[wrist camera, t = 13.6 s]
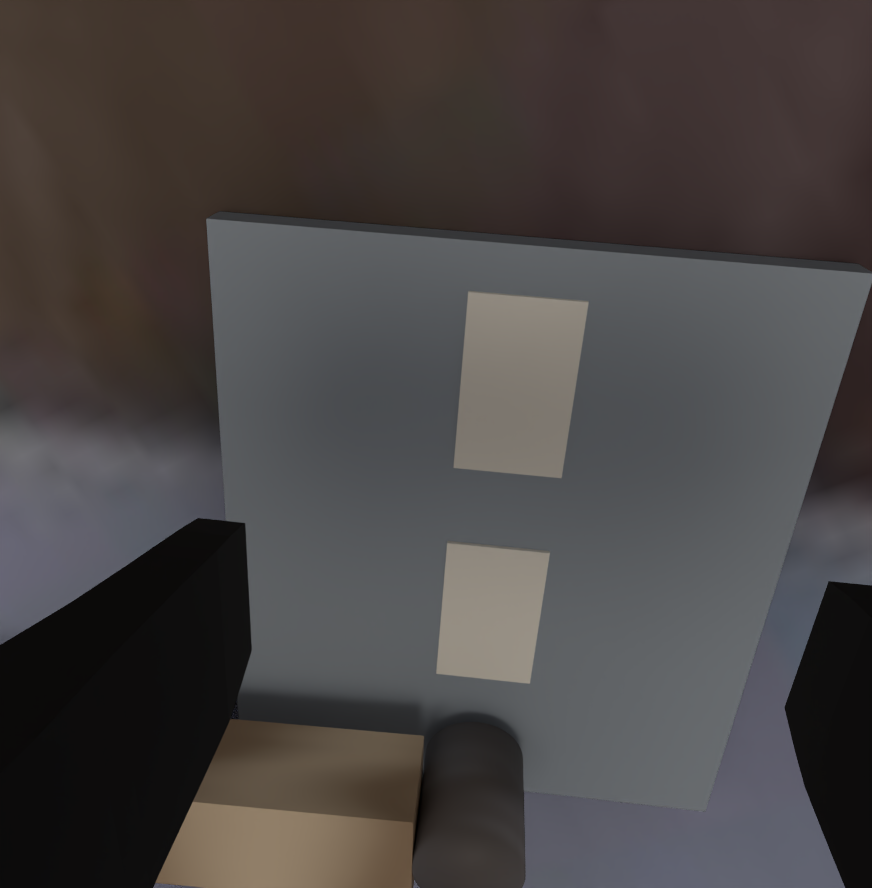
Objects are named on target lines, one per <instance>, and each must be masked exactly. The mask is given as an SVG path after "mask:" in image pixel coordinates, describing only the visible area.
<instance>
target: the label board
mask: <svg viewBox="0 0 872 888" xmlns="http://www.w3.org/2000/svg"><path fill="white" fill-rule="evenodd" d="M206 221H207V237H208V252H209V268H210V283H211V299H212V314H213V330H214V345H215V361H216V376H217V392H218V408H219V423H220V439H221V454H222V470H223V485H224V501H225V516H226V521H231V522H241V523H245V526H246V546H247V565H248V585H249V604H250V623H251V643H252V651H251V655H250V658H249V661H248V665H247V668H246V671H245V674H244V678H243V681H242V684H241V688H240V691H239V694H238V697H237V703H238V718H239V720H249V721H261V722H272V723H284V724H295V725H307V726H318V727H329V728H341V729H352V730H364V731H375V732H387V733H398V734H409V735H421V736H424V750H423V770H424V762H425V753H426V748H427V745H428V743H429V741H430V739H431V738H432V737H433V736H434V735H435V734H436V733H437V732H438V731H440V730H441V729H443V728H445V727H447V726H450V725H452V724H456V723H461V722H481V723H486V724H490V725H493V726H496V727H498V728H500V729H502V730H504V731H505V732H507V733H508V734H509V735H511V736H512V737H513V738H514V739H515V740H516V742H517V743H518V744H519V746H520V748H521V751H522V754H523V778H524V791H527V792H535V793H544V794H553V795H562V796H571V797H579V798H588V799H597V800H606V801H615V802H623V803H632V804H641V805H650V806H658V807H667V808H676V809H685V810H694V811H702V812H705V811H706V807H707V804H708V801H709V798H710V795H711V791H712V788H713V785H714V782H715V779H716V776H717V772H718V769H719V766H720V763H721V760H722V757H723V753H724V750H725V747H726V744H727V741H728V738H729V734H730V731H731V728H732V725H733V722H734V718H735V715H736V712H737V709H738V706H739V703H740V699H741V696H742V693H743V690H744V687H745V684H746V680H747V677H748V674H749V671H750V668H751V665H752V661H753V658H754V655H755V652H756V649H757V645H758V642H759V639H760V636H761V633H762V630H763V626H764V623H765V620H766V617H767V614H768V611H769V607H770V604H771V601H772V598H773V595H774V592H775V588H776V585H777V582H778V579H779V576H780V572H781V569H782V566H783V563H784V560H785V557H786V553H787V550H788V547H789V544H790V541H791V538H792V534H793V531H794V528H795V525H796V522H797V519H798V515H799V512H800V509H801V506H802V503H803V499H804V496H805V493H806V490H807V487H808V484H809V480H810V477H811V474H812V471H813V468H814V465H815V461H816V458H817V455H818V452H819V449H820V445H821V442H822V439H823V436H824V433H825V430H826V426H827V423H828V420H829V417H830V414H831V411H832V407H833V404H834V401H835V398H836V395H837V392H838V388H839V385H840V382H841V379H842V376H843V372H844V369H845V366H846V363H847V360H848V357H849V353H850V350H851V347H852V344H853V341H854V338H855V334H856V331H857V328H858V325H859V322H860V319H861V315H862V312H863V309H864V306H865V303H866V299H867V296H868V293H869V290H870V287H871V284H872V272H871V271H869V270H867V269H866V268H864V267H863V266H861V265H859V264H854V263H842V262H830V261H818V260H805V259H793V258H781V257H769V256H757V255H745V254H732V253H720V252H708V251H696V250H684V249H671V248H659V247H647V246H635V245H623V244H611V243H598V242H586V241H574V240H562V239H550V238H537V237H525V236H513V235H501V234H489V233H477V232H464V231H452V230H440V229H428V228H416V227H404V226H391V225H379V224H367V223H355V222H343V221H330V220H318V219H306V218H294V217H282V216H270V215H257V214H245V213H233V212H221V211H219V212H217V213H216V214H214V215H212V216H210V217H208V218H207V219H206Z"/></svg>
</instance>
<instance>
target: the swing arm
mask: <svg viewBox="0 0 872 888" xmlns="http://www.w3.org/2000/svg"><path fill="white" fill-rule="evenodd" d="M423 750H424V736H421V735H409V734H398V733H387V732H375V731H364V730H352V729H341V728H329V727H318V726H307V725H295V724H284V723H272V722H261V721H249V720H238V719H230V721H229V724H228V726H227V728H226V730H225V733H224V735H223V737H222V739H221V742H220V744H219V746H218V748H217V750H216V752H215V755H214V757H213V759H212V761H211V763H210V766H209V768H208V770H207V772H206V774H205V777H204V779H203V781H202V783H201V785H200V787H199V790H198V792H197V794H196V796H195V798H194V800H193V803H192V805H191V807H190V809H189V811H188V813H187V815H186V818H185V820H184V822H183V824H182V826H181V828H180V831H179V833H178V835H177V837H176V839H175V841H174V843H173V846H172V848H171V850H170V852H169V854H168V856H167V859H166V861H165V863H164V865H163V867H162V869H161V871H160V874H159V876H158V878H157V880H156V882H155V883H162V884H172V885H182V886H192V887H202V888H413V885H414V879H415V881H416V883H417V884H418V886H419V887H420V888H522V887H523V885H524V882H525V828H524V778H523V754H522V751H521V748H520V746H519V744H518V743H517V742H516V740H515V739H514V738H513V737H512V736H511V735H509V734H508V733H507V732H505V731H504V730H502V729H500V728H498V727H496V726H493V725H490V724H486V723H481V722H461V723H456V724H452V725H450V726H447V727H445V728H443V729H441V730H440V731H438V732H437V733H436V734H435V735H434V736H433V737H432V738H431V739H430V741H429V743H428V745H427V748H426V753H425V762H424V770H423Z"/></svg>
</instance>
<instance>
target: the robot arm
mask: <svg viewBox="0 0 872 888" xmlns="http://www.w3.org/2000/svg"><path fill="white" fill-rule="evenodd" d="M251 651H252V643H251V623H250V604H249V585H248V565H247V546H246V526H245V523H241V522H231V521H221V520H211V519H201V518H198V519H196V520H194V521H193V522H191V523H189V524H188V525H186V526H184V527H183V528H181V529H180V530H178V531H177V532H175V533H174V534H172V535H171V536H169V537H168V538H166V539H165V540H163V541H162V542H160V543H159V544H157V545H156V546H155V547H153V548H152V549H150V550H149V551H147V552H146V553H144V554H143V555H141V556H140V557H138V558H137V559H136V560H134V561H133V562H131V563H130V564H128V565H127V566H125V567H124V568H122V569H121V570H119V571H118V572H116V573H115V574H113V575H112V576H110V577H109V578H107V579H106V580H104V581H103V582H101V583H100V584H98V585H97V586H95V587H94V588H92V589H91V590H89V591H88V592H86V593H85V594H83V595H82V596H80V597H78V598H77V599H75V600H74V601H72V602H71V603H69V604H68V605H66V606H64V607H63V608H61V609H59V610H58V611H56V612H54V613H53V614H51V615H49V616H48V617H46V618H44V619H43V620H41V621H39V622H38V623H36V624H35V625H33V626H31V627H30V628H28V629H26V630H25V631H23V632H21V633H20V634H18V635H16V636H15V637H13V638H11V639H10V640H8V641H6V642H5V643H3V644H1V645H0V888H153V887H154V884H155V882H156V880H157V878H158V876H159V874H160V871H161V869H162V867H163V865H164V863H165V861H166V859H167V856H168V854H169V852H170V850H171V848H172V846H173V843H174V841H175V839H176V837H177V835H178V833H179V831H180V828H181V826H182V824H183V822H184V820H185V818H186V815H187V813H188V811H189V809H190V807H191V805H192V803H193V800H194V798H195V796H196V794H197V792H198V790H199V787H200V785H201V783H202V781H203V779H204V777H205V774H206V772H207V770H208V768H209V766H210V763H211V761H212V759H213V757H214V755H215V752H216V750H217V748H218V746H219V744H220V742H221V739H222V737H223V735H224V733H225V730H226V728H227V726H228V724H229V721H230V718H231V715H232V712H233V709H234V706H235V703H236V700H237V697H238V694H239V691H240V688H241V684H242V681H243V678H244V674H245V671H246V668H247V665H248V661H249V658H250V655H251ZM785 711H786V715H787V719H788V724H789V728H790V732H791V736H792V740H793V744H794V749H795V752H796V756H797V760H798V763H799V767H800V771H801V774H802V778H803V782H804V785H805V788H806V791H807V793H808V796H809V798H810V801H811V804H812V806H813V809H814V811H815V814H816V816H817V819H818V821H819V824H820V826H821V829H822V831H823V834H824V836H825V839H826V841H827V844H828V846H829V849H830V851H831V854H832V856H833V859H834V861H835V864H836V866H837V869H838V871H839V873H840V876H841V878H842V881H843V883H844V886H845V888H872V586H870V585H860V584H850V583H840V582H830V581H829V582H828V585H827V588H826V591H825V594H824V597H823V599H822V602H821V605H820V608H819V611H818V614H817V616H816V619H815V622H814V625H813V628H812V631H811V634H810V636H809V639H808V642H807V645H806V648H805V651H804V654H803V656H802V659H801V662H800V665H799V668H798V671H797V674H796V676H795V679H794V682H793V685H792V688H791V691H790V694H789V696H788V699H787V702H786V705H785ZM181 888H202V887H192V886H182V887H181Z"/></svg>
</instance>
